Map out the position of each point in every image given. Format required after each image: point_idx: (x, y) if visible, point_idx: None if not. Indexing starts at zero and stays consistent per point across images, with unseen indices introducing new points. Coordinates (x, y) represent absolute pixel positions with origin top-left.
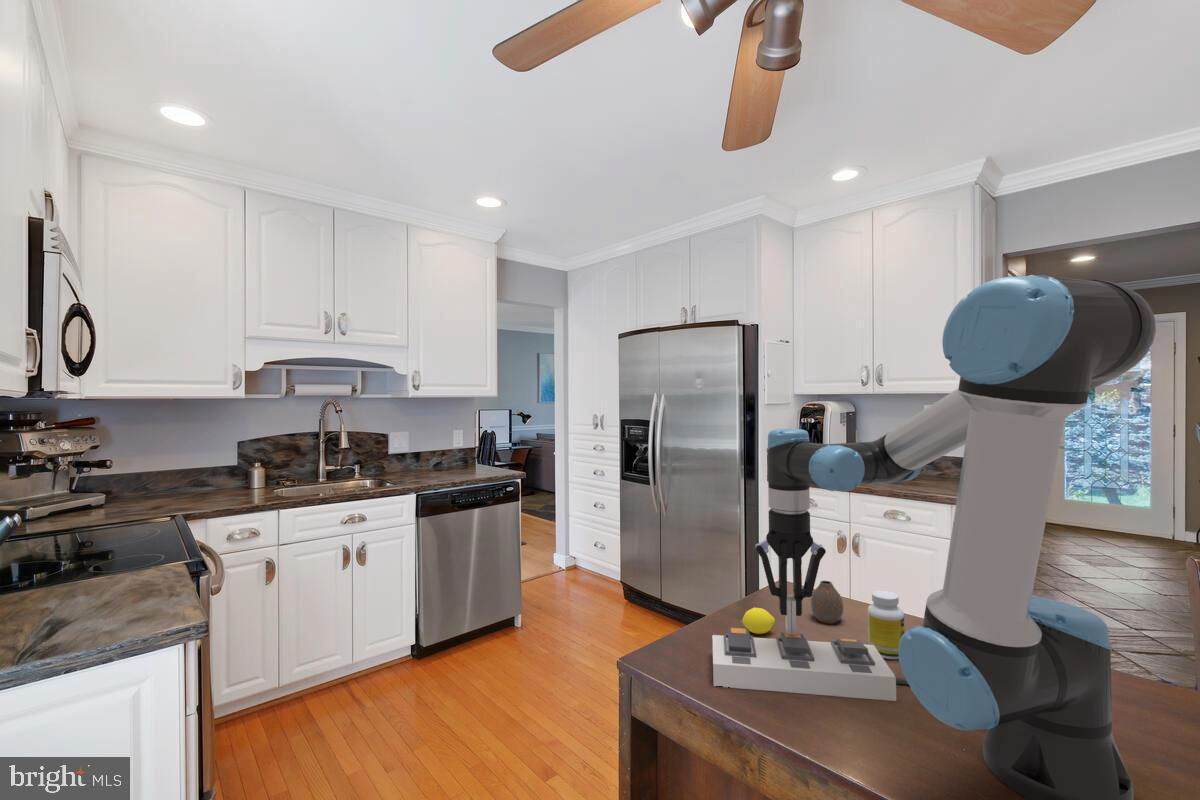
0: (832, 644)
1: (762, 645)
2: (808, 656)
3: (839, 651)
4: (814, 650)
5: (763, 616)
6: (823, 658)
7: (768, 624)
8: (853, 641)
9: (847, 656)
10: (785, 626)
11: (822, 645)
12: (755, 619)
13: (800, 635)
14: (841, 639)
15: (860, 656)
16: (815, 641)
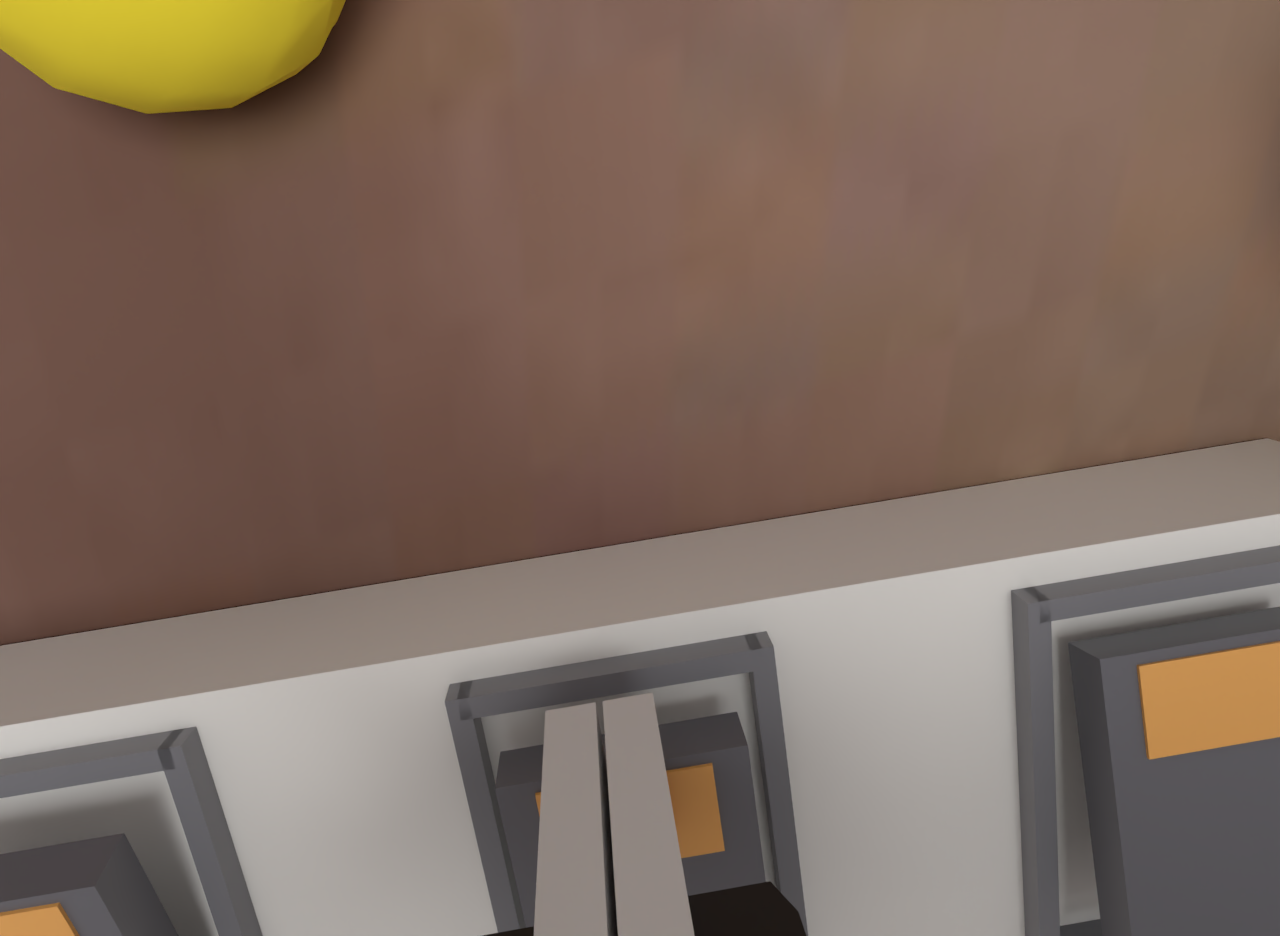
0: (1028, 683)
1: (324, 843)
2: None
3: (1062, 736)
4: (830, 789)
5: (196, 24)
6: (893, 911)
7: (304, 46)
8: (1271, 727)
9: None
10: (545, 730)
11: (921, 661)
12: (103, 77)
13: (721, 793)
14: (1155, 690)
15: None
16: (861, 584)
